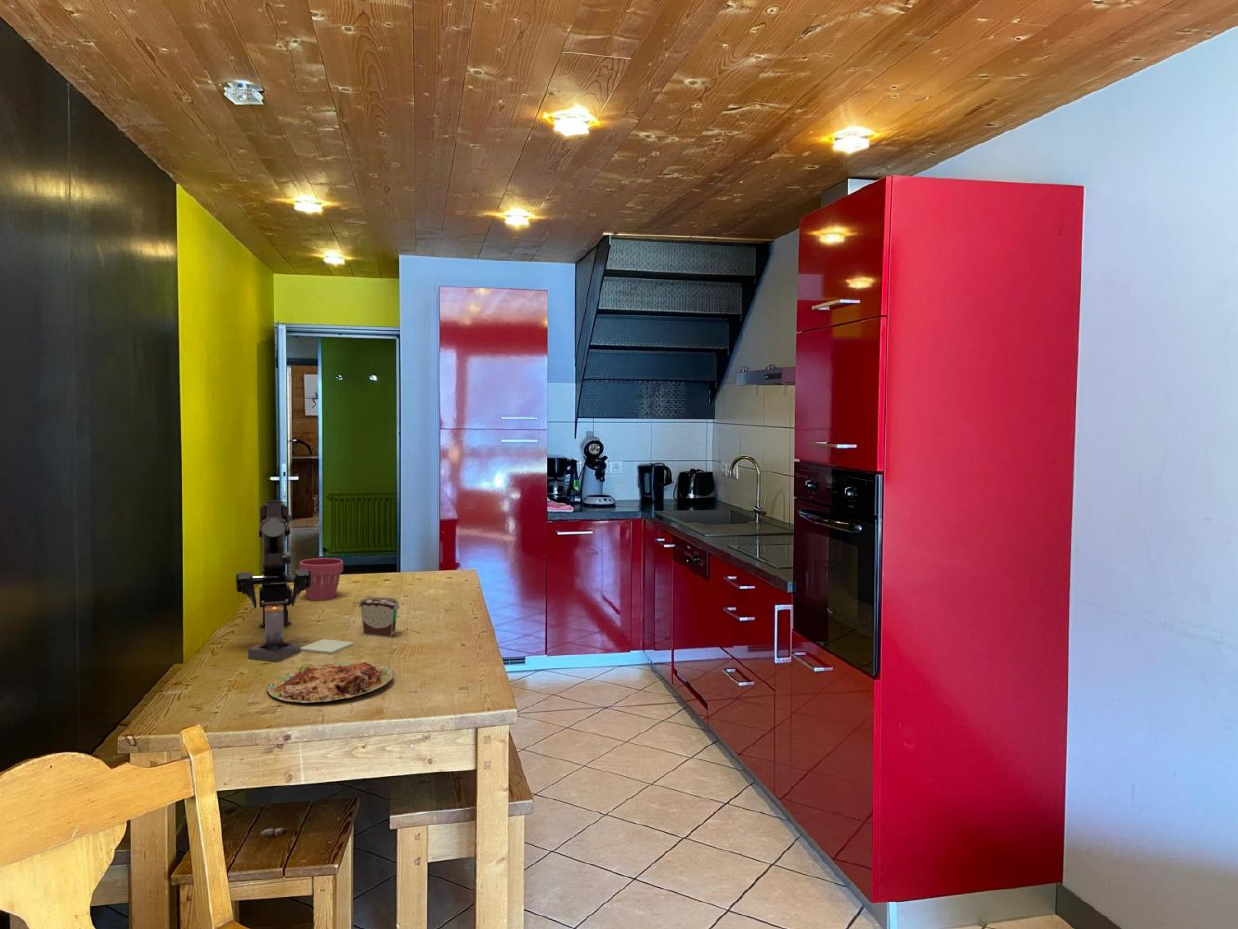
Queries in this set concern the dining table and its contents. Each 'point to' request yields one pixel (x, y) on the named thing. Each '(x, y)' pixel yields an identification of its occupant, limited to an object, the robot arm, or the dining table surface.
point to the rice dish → (329, 681)
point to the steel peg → (274, 627)
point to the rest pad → (327, 646)
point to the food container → (379, 616)
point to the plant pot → (322, 577)
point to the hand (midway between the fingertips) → (274, 606)
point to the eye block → (274, 652)
